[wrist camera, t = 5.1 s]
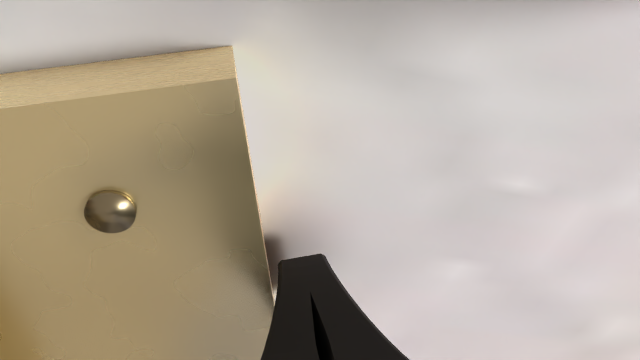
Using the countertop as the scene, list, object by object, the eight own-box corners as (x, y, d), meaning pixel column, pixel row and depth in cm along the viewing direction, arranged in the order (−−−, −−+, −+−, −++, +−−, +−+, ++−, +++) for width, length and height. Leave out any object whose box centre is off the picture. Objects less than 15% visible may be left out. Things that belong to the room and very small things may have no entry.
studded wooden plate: (290, 396, 18) (308, 515, 15) (0, 455, 17) (-51, 600, 14) (232, 45, 11) (241, 124, 8) (-274, 107, 10) (-516, 232, 7)
